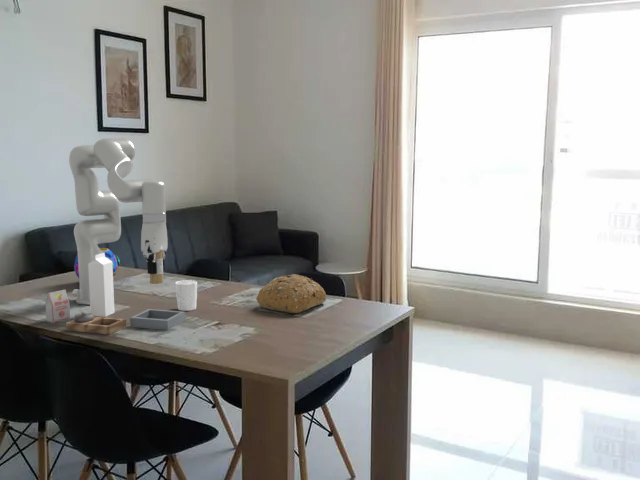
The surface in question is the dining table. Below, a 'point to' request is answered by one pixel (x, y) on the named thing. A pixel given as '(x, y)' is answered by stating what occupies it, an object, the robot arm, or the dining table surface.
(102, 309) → the milk
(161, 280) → the sprinkles bottle
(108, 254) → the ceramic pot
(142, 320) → the tray
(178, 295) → the white cup
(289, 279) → the bread
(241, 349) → the dining table surface
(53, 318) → the white food bag
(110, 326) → the holder
